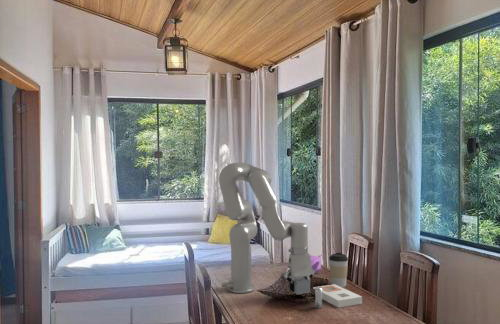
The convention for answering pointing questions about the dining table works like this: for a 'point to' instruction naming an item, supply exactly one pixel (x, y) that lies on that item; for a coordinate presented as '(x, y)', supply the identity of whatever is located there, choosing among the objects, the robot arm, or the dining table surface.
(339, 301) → the board
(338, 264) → the coffee cup
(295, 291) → the cover
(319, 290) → the pin
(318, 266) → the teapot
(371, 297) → the dining table surface
